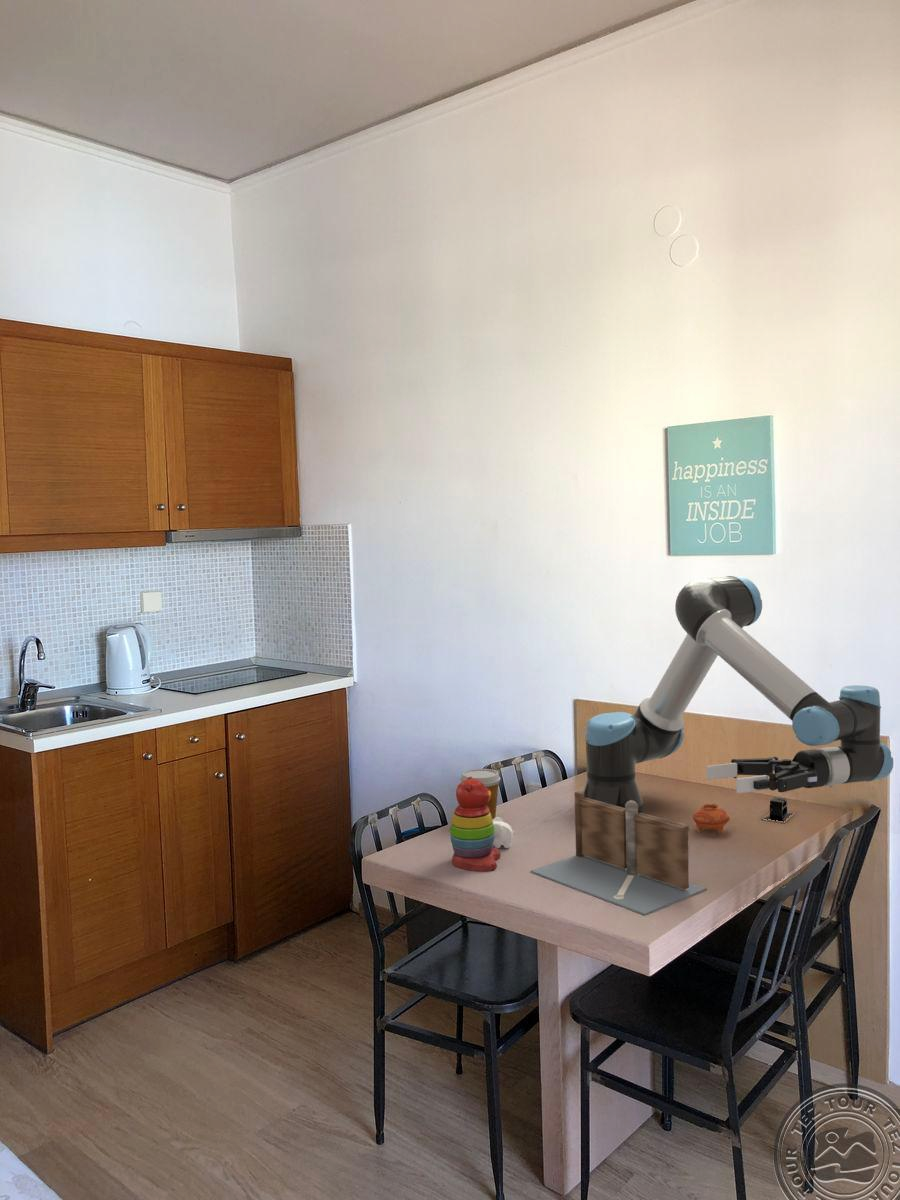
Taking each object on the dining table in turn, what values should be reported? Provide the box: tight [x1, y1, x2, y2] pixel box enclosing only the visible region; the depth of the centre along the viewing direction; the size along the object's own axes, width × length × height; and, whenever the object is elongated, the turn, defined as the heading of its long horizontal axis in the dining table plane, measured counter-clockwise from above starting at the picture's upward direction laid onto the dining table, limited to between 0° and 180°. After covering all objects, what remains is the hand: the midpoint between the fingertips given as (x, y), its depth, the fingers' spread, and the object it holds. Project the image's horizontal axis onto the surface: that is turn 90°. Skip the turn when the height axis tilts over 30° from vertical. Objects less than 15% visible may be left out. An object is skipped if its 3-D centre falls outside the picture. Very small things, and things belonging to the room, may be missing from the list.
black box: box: [763, 796, 793, 822], centre depth 232 cm, size 12×7×5 cm, turn 145°
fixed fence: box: [574, 791, 638, 875], centre depth 203 cm, size 17×3×15 cm, turn 38°
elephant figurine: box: [492, 816, 518, 849], centre depth 217 cm, size 7×8×6 cm
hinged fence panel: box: [635, 813, 690, 889], centre depth 191 cm, size 12×2×12 cm, turn 38°
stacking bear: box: [449, 777, 501, 872], centre depth 207 cm, size 11×10×18 cm
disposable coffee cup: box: [460, 768, 501, 820], centre depth 234 cm, size 10×10×12 cm
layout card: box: [530, 855, 708, 916], centre depth 195 cm, size 30×18×1 cm, turn 38°
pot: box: [692, 803, 730, 836], centre depth 222 cm, size 8×8×7 cm
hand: (721, 779), depth 192 cm, fingers open, 10 cm apart
